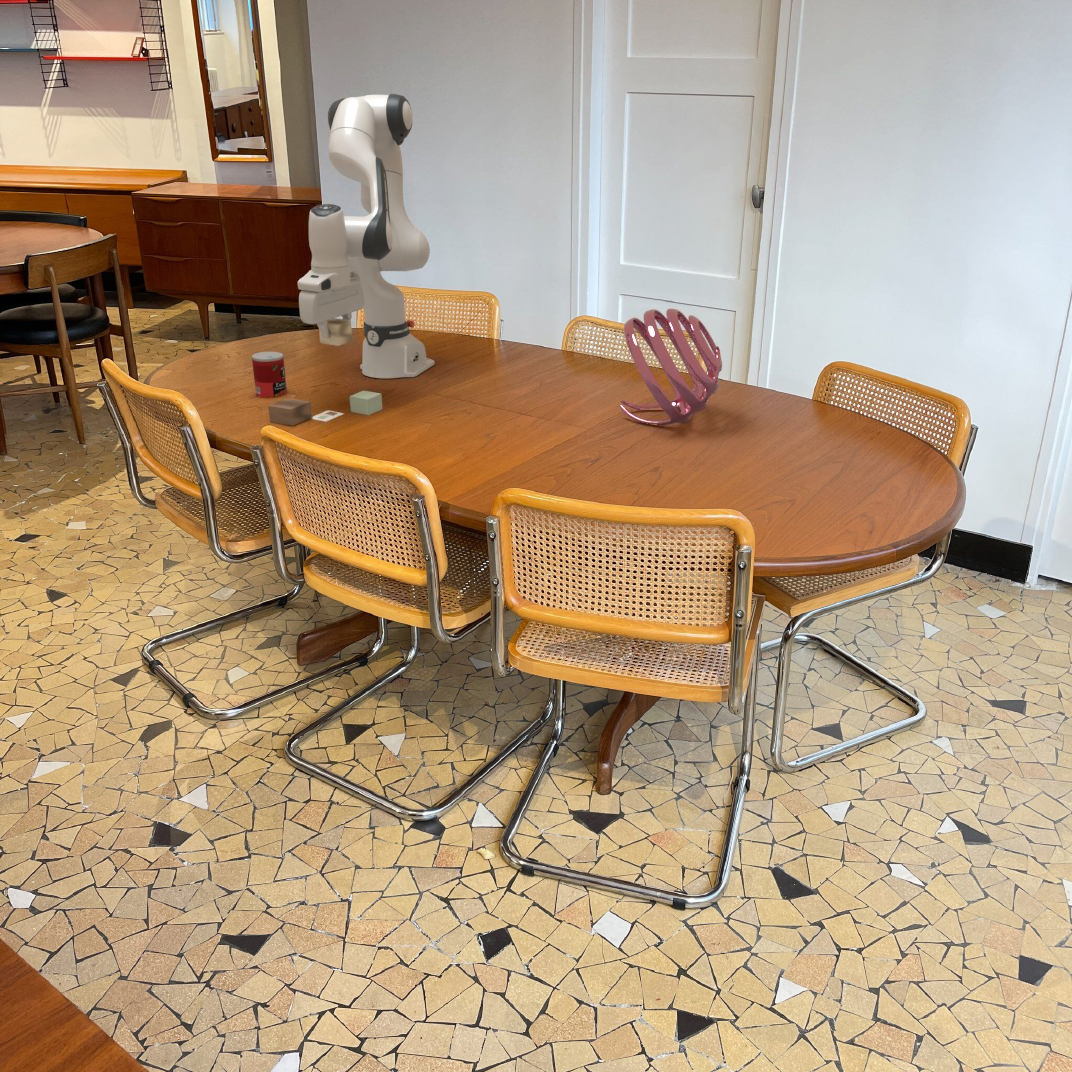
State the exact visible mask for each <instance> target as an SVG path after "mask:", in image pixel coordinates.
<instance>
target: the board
mask: <svg viewBox="0 0 1072 1072" xmlns="http://www.w3.org/2000/svg"><path fill="white" fill-rule="evenodd" d="M344 415H345V413H343V412H338V411H333V410H330V409H329V410H325V411H322V412H320V413H318V414H315V415H312V418H310V419H309V420H315V421H319V422H325V423H326V422H329V421H331V420H333V419H336V418H338V417H341V416H344Z"/></svg>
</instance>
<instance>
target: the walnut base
mask: <svg viewBox="0 0 1072 1072" xmlns="http://www.w3.org/2000/svg"><path fill="white" fill-rule="evenodd" d="M311 403H312V402H311V401H308V400H303V399H295V398H289V397H287V398H285V399H281V400H279V401H277V402H275V403H272V404H269V405H267V408H268V415H269V422H270V423H276V424H281V425H284V426H285V425H287V426H292V427H293V426H297V425H298V424H302V422H306V421H308V420H311V419H310V418H312V417H313V411H312V404H311Z"/></svg>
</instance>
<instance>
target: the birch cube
mask: <svg viewBox="0 0 1072 1072" xmlns="http://www.w3.org/2000/svg"><path fill="white" fill-rule="evenodd" d="M326 326H327V329H328V330H330V331H331V337H330V338H328V339H324V338H322V336H321V330H320V329H319V328H318V333H319V335H318V336H319V344H325V345H330V346H337V347H339V346H341V345H346V344H349V343H351V342H353V332H352V331H353V329H352V320H351V321H350V320H343V318H338V317H336V318H333V319H329V320H327V325H326Z"/></svg>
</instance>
